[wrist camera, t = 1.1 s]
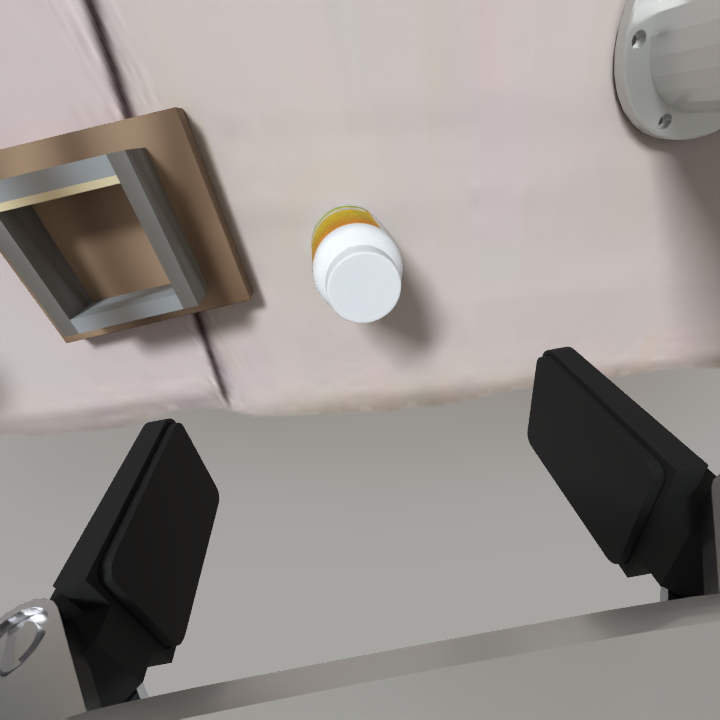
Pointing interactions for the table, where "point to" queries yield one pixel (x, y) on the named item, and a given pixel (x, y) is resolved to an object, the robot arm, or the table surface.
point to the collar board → (117, 226)
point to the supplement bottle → (356, 264)
